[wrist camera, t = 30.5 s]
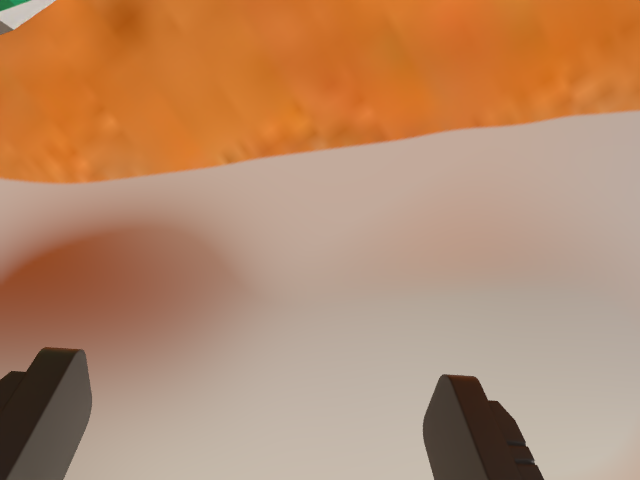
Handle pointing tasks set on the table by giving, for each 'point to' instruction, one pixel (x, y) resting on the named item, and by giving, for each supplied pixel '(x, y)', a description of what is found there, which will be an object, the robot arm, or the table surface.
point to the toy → (19, 12)
